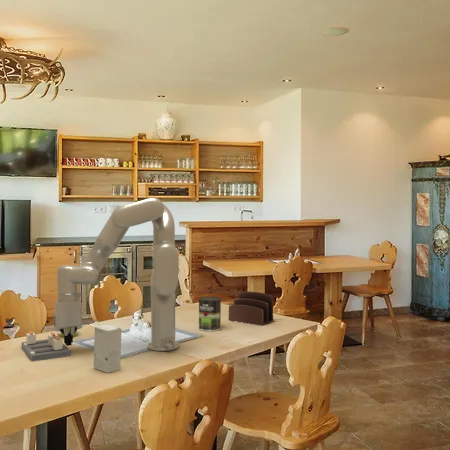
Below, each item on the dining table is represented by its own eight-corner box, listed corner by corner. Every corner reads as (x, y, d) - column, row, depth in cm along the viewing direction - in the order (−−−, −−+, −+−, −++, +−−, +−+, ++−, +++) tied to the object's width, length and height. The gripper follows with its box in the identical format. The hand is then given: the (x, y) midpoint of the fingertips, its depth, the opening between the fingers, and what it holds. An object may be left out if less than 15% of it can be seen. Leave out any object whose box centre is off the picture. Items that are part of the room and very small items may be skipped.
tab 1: (36, 343, 210) (35, 332, 210) (28, 344, 208) (27, 333, 208) (34, 341, 213) (34, 330, 213) (26, 342, 212) (26, 331, 211)
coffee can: (215, 332, 237) (215, 301, 236) (195, 330, 241) (194, 299, 240) (224, 327, 246) (224, 297, 246) (204, 325, 250) (204, 295, 250)
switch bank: (70, 355, 201) (70, 350, 201) (31, 361, 194) (31, 355, 194) (57, 342, 220) (57, 337, 220) (21, 347, 213) (21, 342, 213)
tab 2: (58, 344, 207) (58, 333, 207) (50, 345, 206) (50, 334, 206) (56, 342, 210) (55, 332, 210) (48, 343, 209) (48, 332, 209)
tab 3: (62, 349, 201) (62, 337, 201) (54, 350, 200) (54, 338, 200) (60, 346, 204) (60, 335, 204) (52, 347, 203) (52, 336, 203)
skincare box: (93, 368, 185) (92, 326, 184) (107, 364, 189) (106, 323, 189) (108, 373, 179) (107, 330, 179) (122, 369, 184) (121, 326, 183)
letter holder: (239, 317, 269) (239, 289, 268) (273, 322, 257) (273, 293, 257) (228, 321, 260) (228, 292, 260) (263, 326, 249) (263, 296, 249)
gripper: (84, 294, 211) (85, 340, 211) (45, 297, 203) (46, 345, 204) (90, 297, 204) (90, 344, 205) (49, 300, 197) (50, 349, 197)
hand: (68, 344), depth 204 cm, fingers closed
